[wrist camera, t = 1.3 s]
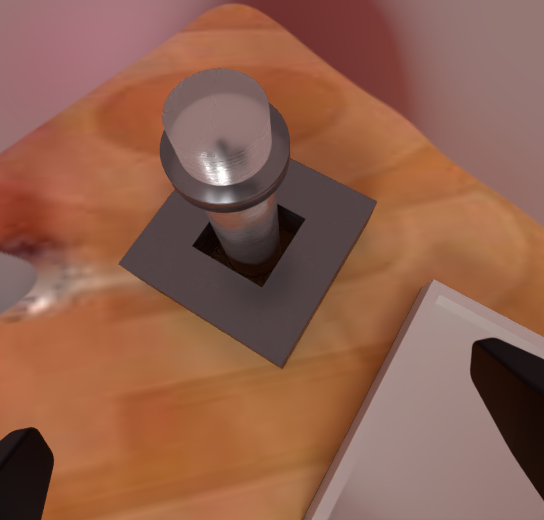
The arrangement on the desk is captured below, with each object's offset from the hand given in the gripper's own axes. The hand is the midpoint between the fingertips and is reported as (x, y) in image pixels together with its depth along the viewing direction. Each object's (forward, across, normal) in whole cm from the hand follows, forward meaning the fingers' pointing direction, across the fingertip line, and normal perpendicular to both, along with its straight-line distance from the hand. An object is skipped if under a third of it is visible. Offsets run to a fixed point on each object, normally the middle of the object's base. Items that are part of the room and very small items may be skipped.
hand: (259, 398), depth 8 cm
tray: (+6, -8, +13) cm, 17 cm away
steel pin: (+15, 0, +4) cm, 16 cm away
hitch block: (+15, 0, +4) cm, 16 cm away
